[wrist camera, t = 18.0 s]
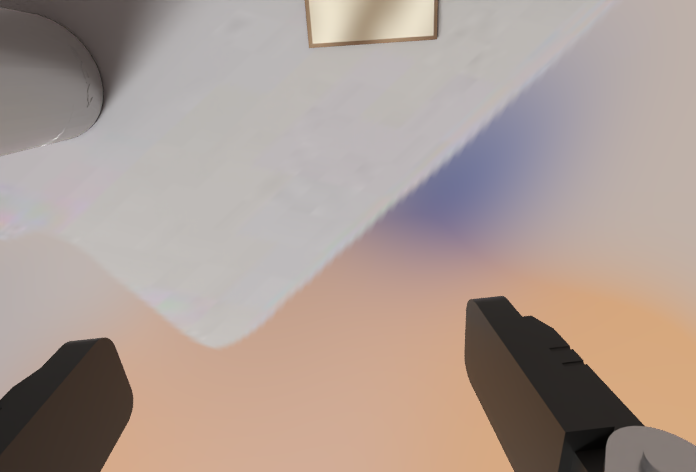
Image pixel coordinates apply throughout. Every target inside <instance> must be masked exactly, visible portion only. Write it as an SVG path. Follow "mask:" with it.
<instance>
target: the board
mask: <svg viewBox="0 0 696 472" xmlns="http://www.w3.org/2000/svg"><path fill="white" fill-rule="evenodd" d="M305 8H306V19H307V30H308V40H309V48H316V47H330V46H345V45H360V44H375V43H389V42H404V41H419V40H433V39H437V11H438V0H305Z"/></svg>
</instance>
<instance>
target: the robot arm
mask: <svg viewBox="0 0 696 472" xmlns="http://www.w3.org/2000/svg"><path fill="white" fill-rule="evenodd" d="M102 103H103V87H102V82H101V76H100V74H99V71H98V69H97V66H96V64H95V62H94V60H93V58H92V57H91V55H90V53H89V52H88V50H87V49H86V48H85V47H84V45H83V44H82V43H81V42H80V41H79V40H78V38H77V37H75V36H74V35H73V34H72V33H71V32H69V31H68V30H67V29H66V28H65V27H63V26H61V25H59V24H58V23H56V22H54V21H53V20H50V19H48V18H45V17H42V16H40V15H36V14H31V13H27V12H22V11H17V10H12V9H7V8H2V7H0V156H4V155H8V154H12V153H16V152H20V151H24V150H28V149H32V148H36V147H41V146H44V145H48V144H52V143H56V142H60V141H64V140H68V139H71V138H75V137H78V136H79V135H81V134H83V133H84V132H86V131H87V130H88V129H89V128H90V127H91V126H92V125H93V124H94V123H95V121H96V120H97V118H98V116H99V114H100V111H101V107H102ZM465 365H466V370H467V374H468V377H469V380H470V383H471V385H472V387H473V389H474V391H475V393H476V395H477V397H478V399H479V401H480V403H481V405H482V407H483V409H484V411H485V413H486V415H487V417H488V419H489V421H490V423H491V425H492V427H493V429H494V431H495V433H496V435H497V437H498V439H499V441H500V443H501V445H502V447H503V450H504V452H505V454H506V456H507V457H508V460H509V462H510V463H511V466H512V468H513V470H514V472H696V446H695V445H693V444H692V443H690V442H688V441H686V440H684V439H682V438H680V437H678V436H676V435H674V434H671V433H668V432H666V431H663V430H659V429H656V428H651V427H645V426H644V425H643V424H642V423H641V422H640V421H639V420H638V419H637V417H636V416H635V415H634V414H633V413H632V412H631V411H630V410H629V409H628V408H627V407H626V406H625V405H624V404H623V403H622V401H621V400H620V399H619V398H618V397H617V396H616V395H615V394H614V393H613V392H612V391H611V390H610V389H609V387H608V386H607V385H606V384H605V383H604V382H603V381H602V380H601V379H600V378H599V377H598V376H597V375H596V374H595V372H593V370H592V369H591V368H590V367H589V366H588V365H587V364H586V365H585V364H584V363H583V360H582V359H581V357H579V355H578V354H577V353H576V352H575V351H574V350H573V349H572V350H571V349H570V346H569V345H568V344H567V343H566V341H565V340H564V339H563V338H562V337H561V336H560V335H559V334H558V333H557V332H556V331H555V330H554V329H553V328H551V327H550V326H548V325H546V324H545V323H543V322H541V321H539V320H538V319H536V318H534V317H533V316H524V317H522V316H521V315H520V314H519V312H518V311H516V309H515V308H514V307H513V305H512V304H511V303H510V302H509V301H508V300H507V299H506V298H505V297H504V296H498V297H490V298H479V299H471V300H469V301H468V303H467V308H466V330H465ZM132 408H133V394H132V390H131V387H130V384H129V382H128V379H127V376H126V374H125V371H124V369H123V366H122V364H121V361H120V358H119V356H118V353H117V350H116V348H115V345H114V344H113V342H112V341H111V340H110V339H108V338H97V339H87V340H78V341H70V342H67V343H65V344H64V345H63V346H62V347H61V348H60V349H59V350H58V351H57V352H56V353H55V354H54V355H53V356H52V357H51V358H50V359H49V360H48V361H47V362H46V363H45V364H44V365H43V366H42V367H41V368H40V369H39V370H37V371H36V372H34V373H33V374H32V375H30V376H29V377H27V378H26V379H24V380H23V381H21V382H20V383H18V384H17V385H15V386H14V387H13V388H12V389H11V390H10V391H9V392H8V393H7V394H6V395H5V396H4V397H3V398H2V399H1V400H0V472H100V471H101V469H102V468H103V466H104V464H105V462H106V461H107V459H108V457H109V455H110V453H111V452H112V450H113V448H114V446H115V444H116V443H117V441H118V439H119V437H120V435H121V434H122V432H123V430H124V428H125V426H126V425H127V423H128V421H129V419H130V416H131V412H132Z"/></svg>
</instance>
